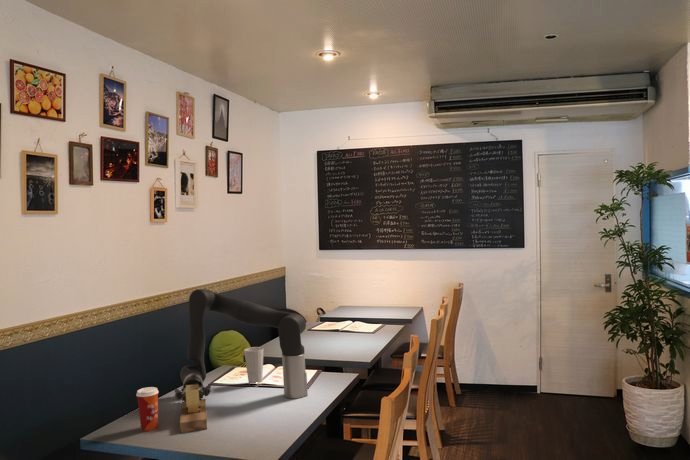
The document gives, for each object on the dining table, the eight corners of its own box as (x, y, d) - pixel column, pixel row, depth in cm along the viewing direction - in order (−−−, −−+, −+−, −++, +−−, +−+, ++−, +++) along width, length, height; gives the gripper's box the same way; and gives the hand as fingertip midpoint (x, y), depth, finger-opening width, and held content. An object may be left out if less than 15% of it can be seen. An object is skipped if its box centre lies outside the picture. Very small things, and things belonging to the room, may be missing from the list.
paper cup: (153, 432, 200) (151, 393, 200) (133, 431, 202) (131, 392, 201) (164, 424, 208) (162, 386, 208) (145, 423, 209) (143, 386, 209)
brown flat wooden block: (205, 407, 224) (205, 398, 224) (206, 428, 201) (206, 419, 201) (182, 410, 222) (181, 401, 222) (180, 432, 199) (180, 422, 199)
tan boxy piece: (200, 412, 216) (198, 383, 215) (200, 418, 209) (198, 389, 209) (187, 414, 214) (185, 385, 214) (187, 420, 208) (185, 390, 207)
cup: (269, 381, 255) (267, 347, 255) (256, 387, 248) (254, 352, 248) (254, 379, 260) (253, 346, 260) (241, 384, 253) (240, 350, 252)
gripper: (173, 377, 223) (171, 390, 207) (210, 373, 227) (212, 385, 210) (174, 396, 224) (172, 410, 207) (212, 392, 227) (213, 405, 211)
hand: (192, 398), depth 209 cm, fingers open, 4 cm apart
